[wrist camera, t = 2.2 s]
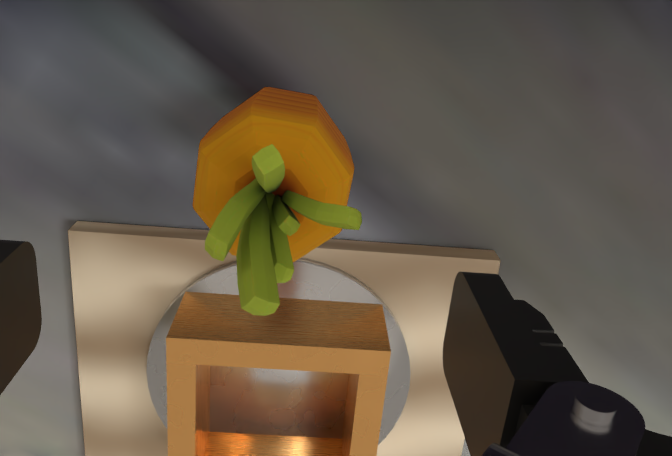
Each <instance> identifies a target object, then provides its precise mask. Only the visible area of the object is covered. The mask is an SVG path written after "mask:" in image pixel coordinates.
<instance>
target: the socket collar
mask: <svg viewBox="0 0 672 456" xmlns="http://www.w3.org/2000/svg"><path fill="white" fill-rule="evenodd" d="M293 266H294V272H293V275H292V278H291V280H289V281H288V282H286V283H277V286H278V293H279V300H280V305H279V306H278V308H277V310H276V311H275V313H272V314H270V315H267V316H261V315H252V314H251V313H249V312H247V311H245V310H243V309H241V304H240V297H239V290H238V284H237V261H235V262H232V263H229V264H226V265H223V266H221V267H218V268H216V269H214V270H212V271H210V272H208V273H206V274H204V275H203V276H201V277H199V278H198V279H197V280H195V281H194V282H192V283H191V284H190V285H188V286H187V287H186V288H185V289H184V290H183V291H182V292H181V293H180V294H179V295H178V296H176V298H175V299H174V300H173V301H172V303H171V304H170V305H169V306H168V308H167V309H166V311H165V312H164V314H163V316H162V318H161V319H160V321H159V323H158V325H157V327H156V329H155V332H154V335H153V337H152V340H151V343H150V347H149V351H148V356H147V372H146V373H147V382H148V389H149V392H150V396H151V400H152V403H153V405H154V407H155V409H156V412H157V414H158V416H159V417H160V419H161V421H162V422H163V424H164V426H165V427H166V428H167V433H168V456H377V449H378V445H379V444H380V443H381V442H382V441H383V440H384V439H385V438H386V436H387V435H388V434H389V433H390V431H391V430H392V429H393V427H394V426H395V424H396V422H397V421H398V419H399V417H400V415H401V413H402V411H403V408H404V406H405V403H406V400H407V396H408V392H409V387H410V374H411V373H410V360H409V355H408V351H407V346H406V342H405V338H404V335H403V333H402V331H401V328H400V326H399V323H398V322H397V320H396V318H395V317H394V315H393V313H392V312H391V310H390V309H389V308H388V306H387V305H386V304H385V303H384V301H383V300H382V299H381V298H380V297H379V296H378V295H377V294H376V293H375V292H374V291H373V290H372V289H371V288H369V287H368V286H367V285H365V284H364V283H363V282H361V281H360V280H358V279H357V278H356V277H354V276H352V275H350V274H348V273H346V272H345V271H343V270H341V269H339V268H336V267H334V266H331V265H328V264H326V263H323V262H319V261H315V260H311V259H307V258H299V259H298V260H296V261H295V262H293Z"/></svg>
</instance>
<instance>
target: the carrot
mask: <svg viewBox="0 0 672 456" xmlns="http://www.w3.org/2000/svg"><path fill="white" fill-rule="evenodd" d="M353 173H354V164H353V161H352V157H351V153H350V150H349V148H348V145H347V142H346V140H345V138H344V136H343V135H342V133H341V132H340V131H339V129H338V128H337V126H336V125H335V123H334V122H333V121H332V119H331V118H330V116H329V115H328V113H327V112H326V110H325V109H324V108H323V106H322V105H321V103H320V102H319V100H318V99H317V98H316V96H314V95H311V94H305V93H300V92H294V91H289V90H283V89H278V88H272V87H264V88H263V89H261V90H260V91H259V92H257V93H256V94H254V95H253V96H252V97H250V98H249V99H247V100H246V101H245V102H243V103H242V104H240V105H239V106H238V107H236V108H235V109H233V110H232V111H231V112H229V113H228V114H226V115H225V116H224V117H222V118H221V119H220V120H219V121H218V122H217V123H216V124H215V125H214V126H213V127H212V128H211V129H210V130H209V132H208V133H207V134H206V135H205V136H204V137H203V139H202V140H201V141H200V144H199V152H198V161H197V170H196V179H195V188H194V198H193V208H194V210H195V211H196V212H197V214H198V215H199V216H200V217H201V218H202V220H203V221H204V222H205V223H206V225H207V226H208V227H209V228H210V231H209V232H208V235H207V238H206V240H205V250H206V251H207V252H208V253H209V255H210V256H211V257H212V258H214V259H217V260H220V261H224V259H225V257H226V256H227V254H228V252H230V253H231V255H235V256H236V260H237V284H238V290H239V297H240V304H241V309H243V310H245V311H247V312H249V313H251V314H252V315H261V316H267V315H270V314H272V313H275V311H276V310H277V308H278V306H279V305H280V300H279V293H278V286H277V283H286V282H288V281H289V280H291V278H292V275H293V272H294V266H293V262H295V261H296V260H298V259H299V258H301V257H303V256H304V255H306V254H307V253H309V252H310V251H312V250H313V249H315V248H317V247H318V246H320V245H321V244H323V243H324V242H326V241H328V240H329V239H331V238H332V237H334V236H335V235H337V234H338V233H340V232H341V230H342V229H354V230H359V228H360V225H361V223H362V217H361V212H359V211H358V210H357V209H355V208H352V207H348V206H347V202H348V198H349V193H350V188H351V183H352V178H353Z"/></svg>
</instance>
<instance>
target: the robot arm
mask: <svg viewBox="0 0 672 456" xmlns="http://www.w3.org/2000/svg"><path fill="white" fill-rule="evenodd" d="M41 319H42V318H41V306H40V296H39V286H38V276H37V266H36V256H35V251H34V248H33V246H32V244H31V243H29V242H25V241H10V240H0V395H1V393H2V392H3V391H4V389H5V388H6V387H7V385H8V384H9V383H10V381H11V380H12V379H13V377H14V376H15V374H16V373H17V372H18V370H19V369H20V368H21V366H22V365H23V364H24V362H25V361H26V360H27V358H28V357H29V356H30V354H31V353H32V352H33V350H34V348H35V347H36V345H37V342H38V339H39V335H40V331H41ZM443 369H444V374H445V377H446V380H447V384H448V387H449V390H450V393H451V396H452V399H453V402H454V405H455V408H456V412H457V415H458V418H459V421H460V424H461V427H462V430H463V433H464V437H465V440H466V443H467V446H468V449H469V452H470V455H471V456H672V437H670V436H666V435H662V434H658V433H655V432H652V431H649V430H646V429H645V421H644V419H643V416H642V415H641V413H640V412H639V410H638V409H637V408H636V407H635V406H634V405H633V404H631V403H630V402H629V401H628V400H626V399H625V398H624V397H622V396H620V395H619V394H617V393H615V392H613V391H611V390H609V389H607V388H604V387H601V386H598V385H595V384H591V383H589V382H588V381H587V379H586V378H585V376H584V375H583V373H582V372H581V370H580V369H579V367H578V366H577V364H576V363H575V361H574V360H573V358H572V357H571V355H570V354H569V352H568V351H567V349H566V348H565V347H563V343H562V342H561V340H560V339H559V337H558V336H557V334H554V330H553V328H552V327H551V325H550V324H549V322H548V320H547V319H546V317H545V316H544V315H543V314H542V313H541V312H539V311H538V310H536V309H535V308H534V307H532V306H531V305H530V304H528V303H527V302H526V301H524V300H514V299H513V298H512V296H511V294H510V293H509V291H508V289H507V288H506V286H505V284H504V283H503V281H502V279H501V278H500V276H499V275H498V274H489V273H474V272H458V274H457V275H456V278H455V281H454V286H453V291H452V297H451V302H450V308H449V314H448V319H447V325H446V331H445V336H444V342H443Z"/></svg>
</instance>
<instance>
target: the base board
mask: <svg viewBox="0 0 672 456" xmlns="http://www.w3.org/2000/svg"><path fill="white" fill-rule="evenodd" d="M209 231H210V230H199V229H185V228H170V227H156V226H142V225H128V224H114V223H100V222H86V221H77V222H76V223H75V224H74V225H73V226H72V227H71V228H70V229H69V230H68V238H69V251H70V264H71V277H72V290H73V303H74V316H75V329H76V342H77V355H78V368H79V381H80V394H81V407H82V420H83V433H84V446H85V456H168V433H167V428H166V427H165V426H164V424H163V422H162V421H161V419H160V417H159V416H158V414H157V412H156V409H155V407H154V405H153V403H152V400H151V396H150V392H149V389H148V382H147V373H146V372H147V356H148V351H149V347H150V343H151V340H152V337H153V335H154V332H155V329H156V327H157V325H158V323H159V321H160V319H161V318H162V316H163V314H164V312H165V311H166V309H167V308H168V306H169V305H170V304H171V303H172V301H173V300H174V299H175V298H176V296H178V295H179V294H180V293H181V292H182V291H183V290H184V289H185V288H186V287H187V286H188V285H190V284H191V283H192V282H194V281H195V280H197V279H198V278H199V277H201V276H203V275H204V274H206V273H208V272H210V271H212V270H214V269H216V268H218V267H221V266H223V265H226V264H229V263H232V262H235V261H237V260H236V256H235V255H231V253H230V252H228V254H227V256H226V257H225V259H224V261H220V260H217V259H214V258H212V257H211V256H210V255H209V253H208V252H207V251H206V250H205V240H206V238H207V235H208V232H209ZM301 258H307V259H311V260H315V261H319V262H323V263H326V264H328V265H331V266H334V267H336V268H339V269H341V270H343V271H345V272H346V273H348V274H350V275H352V276H354V277H356V278H357V279H358V280H360V281H361V282H363V283H364V284H365V285H367V286H368V287H369V288H371V289H372V290H373V291H374V292H375V293H376V294H377V295H378V296H379V297H380V298H381V299H382V300H383V301H384V303H385V304H386V305H387V306H388V308H389V309H390V310H391V312H392V313H393V315H394V317H395V318H396V320H397V322H398V323H399V326H400V328H401V331H402V333H403V335H404V338H405V342H406V346H407V351H408V355H409V360H410V373H411V374H410V387H409V392H408V396H407V400H406V403H405V406H404V408H403V411H402V413H401V415H400V417H399V419H398V421H397V422H396V424H395V426H394V427H393V429H392V430H391V431H390V433H389V434H388V435H387V436H386V438H385V439H384V440H383V441H382V442H381V443H380V444H379V445H378V449H377V456H461V454H462V449H463V444H464V439H465V437H464V433H463V430H462V427H461V424H460V421H459V418H458V415H457V412H456V408H455V405H454V402H453V399H452V396H451V393H450V390H449V387H448V384H447V380H446V377H445V374H444V369H443V342H444V336H445V331H446V325H447V319H448V314H449V308H450V302H451V297H452V291H453V286H454V281H455V278H456V275H457V274H458V272H474V273H489V274H498V271H499V266H500V259H499V257H498V256H497V254H496V253H495V251H494V250H482V249H468V248H453V247H439V246H425V245H411V244H397V243H383V242H369V241H354V240H340V239H329V240H328V241H326V242H324V243H323V244H321V245H320V246H318V247H317V248H315V249H313V250H312V251H310V252H309V253H307V254H306V255H304V256H303V257H301Z"/></svg>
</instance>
